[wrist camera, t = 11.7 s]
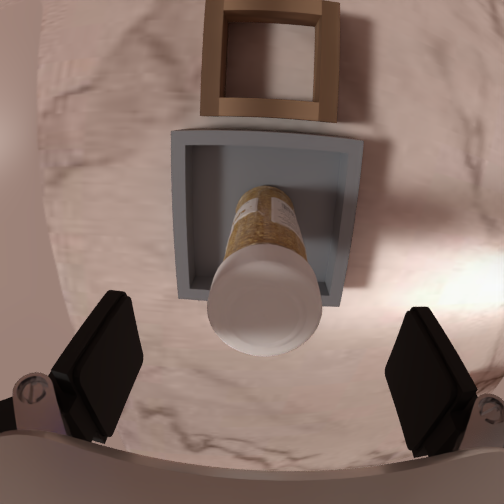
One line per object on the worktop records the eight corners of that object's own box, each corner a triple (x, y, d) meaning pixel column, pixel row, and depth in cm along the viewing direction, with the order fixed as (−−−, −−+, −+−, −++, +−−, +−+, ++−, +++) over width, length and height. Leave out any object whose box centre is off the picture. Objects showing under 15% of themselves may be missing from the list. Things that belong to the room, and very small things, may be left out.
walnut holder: (331, 15, 18) (339, 3, 16) (327, 122, 22) (336, 122, 19) (212, 9, 18) (206, -4, 16) (207, 116, 22) (200, 115, 19)
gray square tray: (352, 138, 22) (363, 140, 20) (332, 288, 27) (339, 306, 25) (182, 129, 23) (171, 131, 20) (186, 280, 28) (178, 298, 25)
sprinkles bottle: (229, 191, 24) (189, 276, 11) (289, 179, 23) (316, 252, 11) (243, 246, 25) (223, 367, 13) (300, 235, 25) (329, 351, 12)
